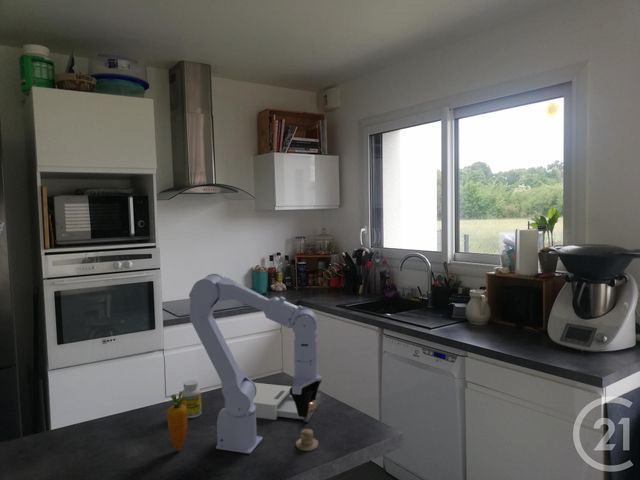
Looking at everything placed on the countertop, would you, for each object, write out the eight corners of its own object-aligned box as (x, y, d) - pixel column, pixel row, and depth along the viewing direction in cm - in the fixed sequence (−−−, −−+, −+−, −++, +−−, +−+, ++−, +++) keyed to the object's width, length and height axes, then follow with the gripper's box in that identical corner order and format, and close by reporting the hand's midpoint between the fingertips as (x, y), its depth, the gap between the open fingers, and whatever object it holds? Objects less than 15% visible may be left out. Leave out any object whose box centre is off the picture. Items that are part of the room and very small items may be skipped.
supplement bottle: (199, 408, 142) (198, 377, 141) (203, 415, 137) (202, 383, 136) (180, 412, 139) (179, 381, 138) (184, 420, 134) (183, 387, 134)
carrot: (181, 443, 121) (179, 386, 120) (193, 449, 118) (191, 391, 117) (164, 451, 117) (161, 393, 116) (175, 458, 114) (173, 398, 113)
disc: (293, 411, 117) (293, 404, 117) (300, 403, 122) (300, 396, 122) (312, 413, 116) (312, 407, 116) (318, 405, 120) (318, 398, 120)
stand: (292, 449, 118) (292, 435, 117) (300, 438, 123) (300, 425, 123) (314, 452, 116) (314, 438, 116) (320, 441, 121) (320, 428, 121)
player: (230, 414, 138) (230, 399, 137) (251, 395, 151) (251, 382, 151) (275, 419, 134) (275, 404, 133) (292, 400, 147) (292, 386, 147)
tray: (263, 416, 135) (263, 406, 135) (280, 398, 148) (280, 389, 148) (307, 422, 131) (307, 411, 131) (320, 402, 144) (320, 393, 144)
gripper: (312, 369, 110) (312, 426, 111) (328, 350, 124) (329, 401, 125) (283, 367, 112) (284, 422, 113) (303, 348, 126) (304, 398, 127)
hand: (306, 411), depth 119 cm, fingers closed on disc, 5 cm apart
